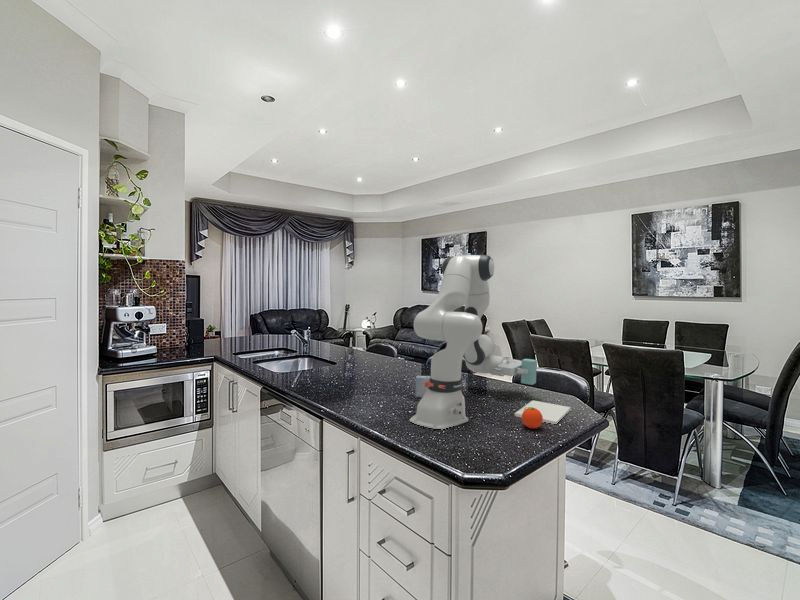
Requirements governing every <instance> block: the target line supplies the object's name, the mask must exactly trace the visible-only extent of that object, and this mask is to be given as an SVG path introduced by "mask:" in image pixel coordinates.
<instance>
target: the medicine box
mask: <svg viewBox="0 0 800 600" xmlns="http://www.w3.org/2000/svg"><path fill="white" fill-rule="evenodd" d="M430 377H431V375H416V376H415V396H414V397H415V398H422V397H423V396H424V394H425V393H426V392H427V390H428V387H425V386H424V383H425V381H428V382H429V379H430Z"/></svg>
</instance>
